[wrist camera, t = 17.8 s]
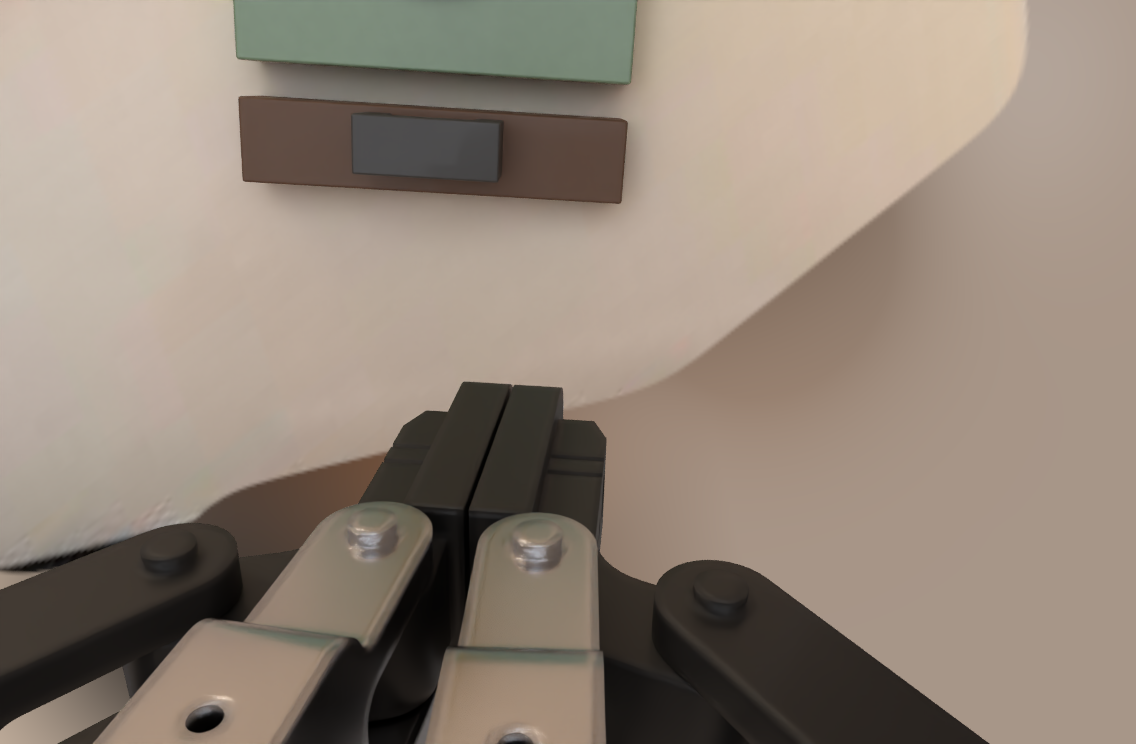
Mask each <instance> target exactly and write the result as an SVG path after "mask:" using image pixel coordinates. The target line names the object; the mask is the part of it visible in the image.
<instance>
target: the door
mask: <svg viewBox="0 0 1136 744" xmlns="http://www.w3.org/2000/svg"><path fill="white" fill-rule="evenodd" d="M233 4H234V22H235V41H236V57H237V58H238V59H241V60H251V61H262V62H278V63H293V64H309V65H324V66H340V67H355V68H371V69H386V70H402V71H417V72H433V73H448V74H463V75H479V76H494V77H510V78H525V79H541V80H556V81H572V82H587V83H603V84H618V85H627V84H630V83H631V74H632V62H633V49H634V36H635V24H636V11H637V0H233ZM238 100H239V119H240V138H241V157H242V176H243V181H245V182H260V183H277V184H294V185H311V186H328V187H345V188H362V189H379V190H396V191H413V192H430V193H447V194H463V195H480V196H497V197H514V198H531V199H548V200H565V201H582V202H599V203H616V204H619V203H621V201H622V189H623V176H624V163H625V151H626V138H627V125H628V123H627V121H625V120H623V119H620V118H604V117H588V116H572V115H556V114H540V113H525V112H509V111H493V110H477V109H461V108H445V107H429V106H414V105H398V104H382V103H366V102H350V101H334V100H318V99H302V98H287V97H271V96H240V97H239V99H238Z"/></svg>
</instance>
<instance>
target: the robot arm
mask: <svg viewBox="0 0 1136 744" xmlns="http://www.w3.org/2000/svg"><path fill="white" fill-rule="evenodd" d="M605 458H606V437H605V436H604V435H603V433H602V432H601V430H600V429H599V427H598V426H597V425H596V423H595V422H594V421H580V420H564V419H563V389H562V388H559V387H543V386H526V385H514V387H512V385H511V384H495V383H479V382H463V383H462V384H461V386H460V388H459V390H458V392H457V394H456V397H455V399H454V401H453V403H452V405H451V407H450V409H449V411H448V412H441V411H425V412H424V413H422V414H420V415H419V416H417V417H416V418H414V419H413V420H411V421H410V422H408V423H407V424H405V425H404V426H403V428H402V429H401V431H400V433H399V434H398V436H397V438H396V440H395V441H394V443H393V447H391V448H390V450H389V452H388V453H387V455H386V457H385V459H384V462H382V464H381V465H380V467H379V469H378V470H377V472H376V474H375V476H374V477H373V479H372V481H371V482H370V484H369V486H368V488H367V489H366V491H365V493H364V495H363V496H362V498H361V500H360V501H359V503H358V504H356V505H353V506H349V507H346V508H344V509H341V510H339V511H337V512H335V513H333V514H331V515H330V516H328V517H327V518H326V519H324V520H323V521H322V522H321V523H320V524H319V525H318V526H317V527H316V529H315V530H314V531H313V533H312V534H311V535H310V536H309V538H308V539H307V540H306V542H305V543H304V544H303V545H302V547H301V548H300V549H296V550H292V551H287V552H281V553H273V554H265V555H258V556H257V555H256V556H248V557H240V558H239V556H238V550H237V543H236V541H235V538H234V537H233V536H232V535H231V534H230V533H229V532H228V531H226V530H225V529H222V528H220V527H218V526H213V525H210V524H202V523H184V524H175V525H169V526H165V527H161V528H157V529H154V530H151V531H148V532H145V533H142V534H140V535H137V536H135V537H132V538H130V539H127V540H125V541H122V542H120V543H117V544H115V545H112V546H110V547H107V548H105V549H102V550H100V551H97V552H94V553H92V554H89V555H87V556H84V557H82V558H79V559H77V560H74V561H72V562H69V563H67V564H64V565H62V566H59V567H57V568H54V569H52V570H49V571H47V572H44V573H41V574H39V575H36V576H34V577H32V578H29V579H26V580H24V581H21V582H19V583H16V584H14V585H11V586H9V587H7V588H4V589H1V590H0V730H1V729H2V728H3V727H4V726H6V725H7V724H8V723H10V722H11V721H13V720H14V719H16V718H18V717H20V716H21V715H24V714H26V713H28V712H30V711H32V710H34V709H36V708H38V707H40V706H42V705H44V704H46V703H48V702H50V701H52V700H54V699H56V698H58V697H60V696H63V695H65V694H67V693H69V692H71V691H73V690H75V689H77V688H79V687H81V686H83V685H85V684H87V683H89V682H91V681H93V680H95V679H97V678H99V677H101V676H103V675H105V674H107V673H109V672H111V671H114V670H115V669H118V668H120V667H122V666H123V671H124V675H125V679H126V683H127V688H128V691H129V696H130V700H129V701H128V703H127V704H126V705H125V706H124V707H123V708H122V710H121V711H119V712H117V713H115V714H113V715H112V716H110V717H108V718H106V719H104V720H102V721H100V722H98V723H96V724H94V725H92V726H91V727H89V728H87V729H85V730H83V731H81V732H79V733H77V734H75V735H73V736H71V737H69V738H68V739H66V740H64V741H62V742H60V743H58V744H989V743H988V742H986V741H985V740H984V739H982V738H981V737H980V736H978V735H977V734H976V733H974V732H973V731H972V730H970V729H969V728H968V727H966V726H965V725H964V724H962V723H961V722H960V721H958V720H957V719H956V718H954V717H953V716H951V715H950V714H949V713H947V712H946V711H945V710H943V709H942V708H941V707H939V706H938V705H937V704H935V703H934V702H933V701H931V700H930V699H929V698H927V697H926V696H925V695H923V694H922V693H920V692H919V691H918V690H917V689H915V688H914V687H913V686H911V685H910V684H908V683H907V682H906V681H904V680H903V679H902V678H900V677H899V676H898V675H896V674H895V673H893V672H892V671H891V670H890V669H888V668H887V667H886V666H884V665H883V664H881V663H880V662H879V661H877V660H876V659H875V658H873V657H872V656H871V655H869V654H868V653H867V652H865V651H864V650H863V649H861V648H860V647H859V646H857V645H856V644H855V643H853V642H852V641H851V640H849V639H848V638H847V637H845V636H844V635H842V634H841V633H840V632H838V631H837V630H836V629H834V628H833V627H832V626H830V625H829V624H828V623H826V622H825V621H824V620H822V619H821V618H820V617H818V616H817V615H816V614H814V613H813V612H812V611H810V610H809V609H808V608H806V607H805V606H804V605H802V604H801V603H799V602H798V601H797V600H795V599H794V598H793V597H791V596H790V595H789V594H787V593H786V592H784V591H783V590H782V589H781V588H779V587H778V586H777V585H775V584H774V583H773V582H771V581H770V580H769V579H767V578H766V577H764V576H762V575H761V574H760V573H758V572H756V571H754V570H752V569H750V568H747V567H744V566H741V565H738V564H734V563H730V562H725V561H717V560H700V561H693V562H687V563H684V564H681V565H678V566H676V567H674V568H672V569H670V570H669V571H667V572H666V573H665V574H663V576H662V577H661V578H660V579H659V581H658V583H657V585H654V584H651V583H647V582H644V581H641V580H638V579H635V578H632V577H630V576H628V575H626V574H624V573H622V572H620V571H619V570H617V569H616V568H614V567H612V566H611V565H610V564H609V563H608V562H607V561H606V560H605V559H604V558H603V557H602V555H601V554H600V544H601V534H602V523H603V501H604V480H605Z"/></svg>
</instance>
